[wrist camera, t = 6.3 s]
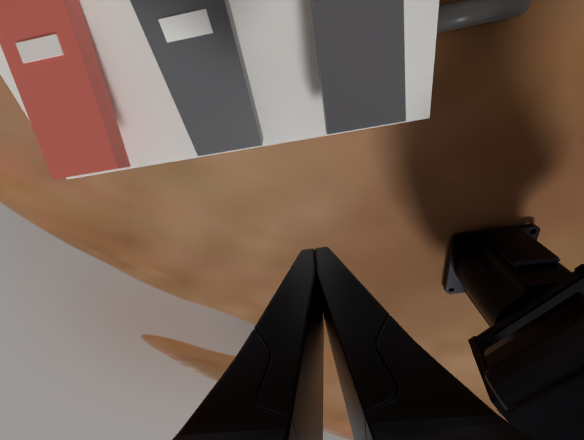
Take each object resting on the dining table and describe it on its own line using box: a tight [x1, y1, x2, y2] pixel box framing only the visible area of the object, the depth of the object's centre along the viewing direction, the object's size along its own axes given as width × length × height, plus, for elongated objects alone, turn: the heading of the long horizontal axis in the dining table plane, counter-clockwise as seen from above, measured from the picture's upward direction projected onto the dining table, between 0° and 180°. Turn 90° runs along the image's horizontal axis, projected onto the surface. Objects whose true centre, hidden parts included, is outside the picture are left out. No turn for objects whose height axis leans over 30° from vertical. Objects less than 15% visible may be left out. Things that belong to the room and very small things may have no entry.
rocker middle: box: [130, 0, 263, 156], centre depth 12 cm, size 8×4×1 cm, turn 9°
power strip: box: [0, 0, 531, 179], centre depth 15 cm, size 9×28×3 cm, turn 100°
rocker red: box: [0, 0, 131, 179], centre depth 13 cm, size 8×4×1 cm, turn 10°
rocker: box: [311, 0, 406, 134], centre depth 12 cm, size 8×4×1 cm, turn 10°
